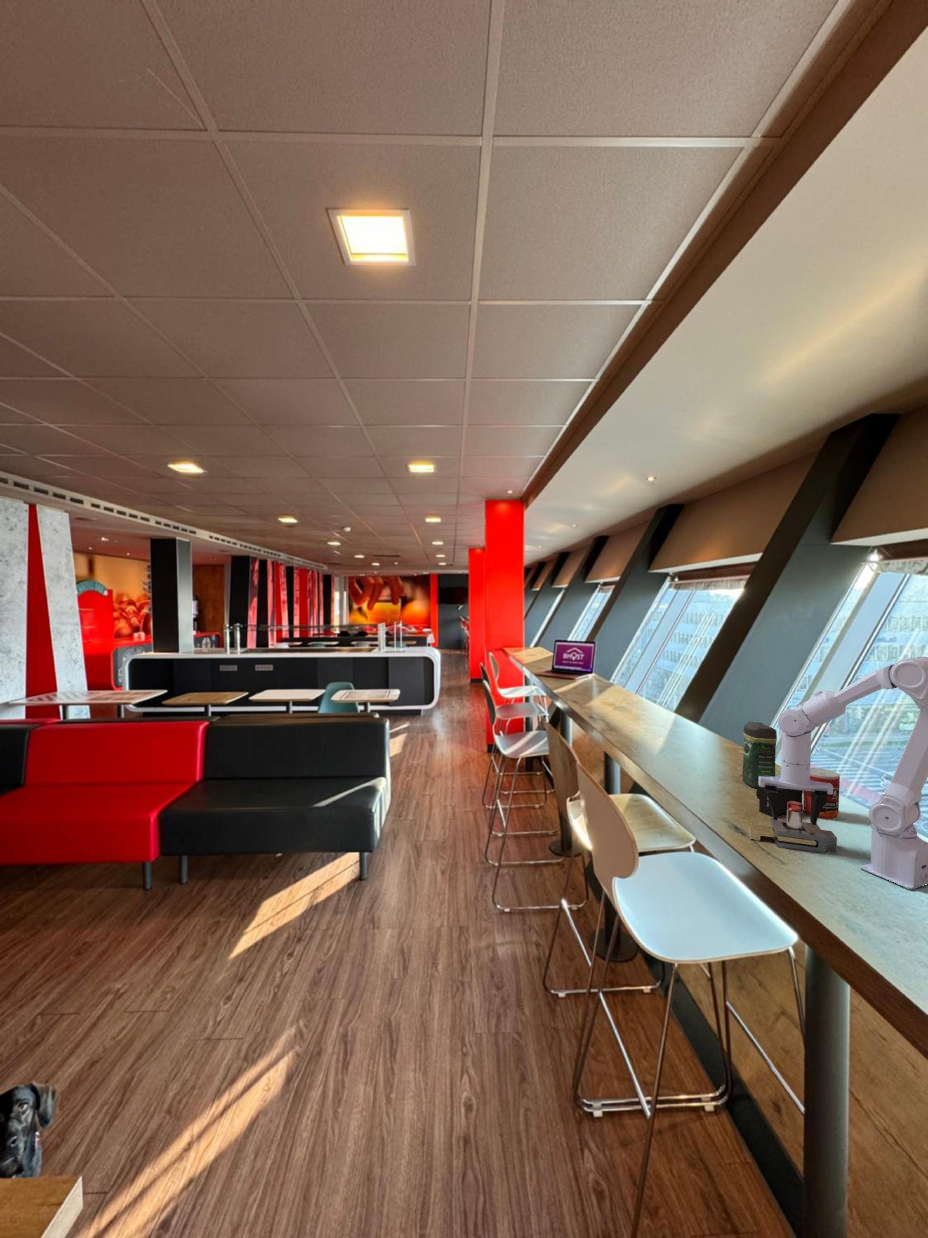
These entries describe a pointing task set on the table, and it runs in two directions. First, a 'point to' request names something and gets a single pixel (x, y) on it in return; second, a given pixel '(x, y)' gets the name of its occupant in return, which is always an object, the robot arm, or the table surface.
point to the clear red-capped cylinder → (794, 815)
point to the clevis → (796, 836)
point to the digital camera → (783, 800)
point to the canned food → (832, 804)
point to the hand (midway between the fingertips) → (793, 821)
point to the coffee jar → (758, 752)
